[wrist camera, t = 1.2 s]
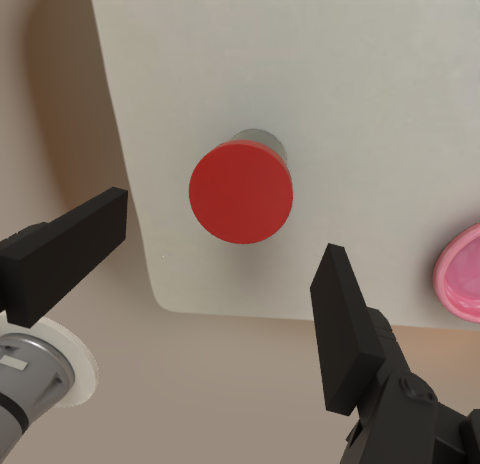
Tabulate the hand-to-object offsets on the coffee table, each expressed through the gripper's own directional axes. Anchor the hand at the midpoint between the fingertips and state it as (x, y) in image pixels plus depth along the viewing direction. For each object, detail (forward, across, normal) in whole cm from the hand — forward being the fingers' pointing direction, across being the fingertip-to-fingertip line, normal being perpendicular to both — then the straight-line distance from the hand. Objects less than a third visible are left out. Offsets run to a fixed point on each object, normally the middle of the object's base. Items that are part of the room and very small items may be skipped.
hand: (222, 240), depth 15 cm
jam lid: (+7, 0, 0) cm, 7 cm away
